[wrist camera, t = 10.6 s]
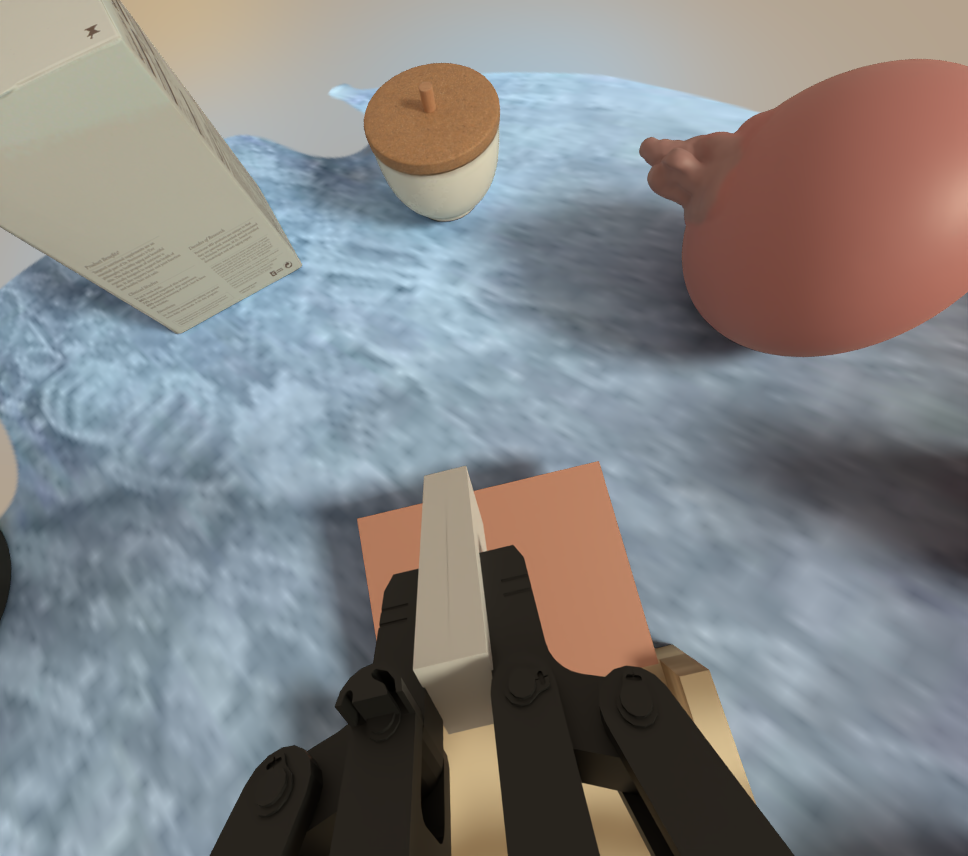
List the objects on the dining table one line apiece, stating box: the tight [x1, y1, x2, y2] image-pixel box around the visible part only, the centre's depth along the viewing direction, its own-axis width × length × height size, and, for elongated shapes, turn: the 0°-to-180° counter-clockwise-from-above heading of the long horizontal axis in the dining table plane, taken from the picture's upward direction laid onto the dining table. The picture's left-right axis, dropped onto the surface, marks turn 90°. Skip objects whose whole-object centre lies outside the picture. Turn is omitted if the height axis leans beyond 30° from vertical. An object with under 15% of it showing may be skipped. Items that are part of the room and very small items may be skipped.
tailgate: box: [357, 461, 659, 676], centre depth 24 cm, size 2×16×12 cm
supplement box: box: [0, 0, 302, 334], centre depth 29 cm, size 13×13×18 cm
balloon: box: [639, 59, 968, 357], centre depth 24 cm, size 15×20×15 cm
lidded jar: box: [364, 63, 500, 222], centre depth 32 cm, size 11×11×9 cm
